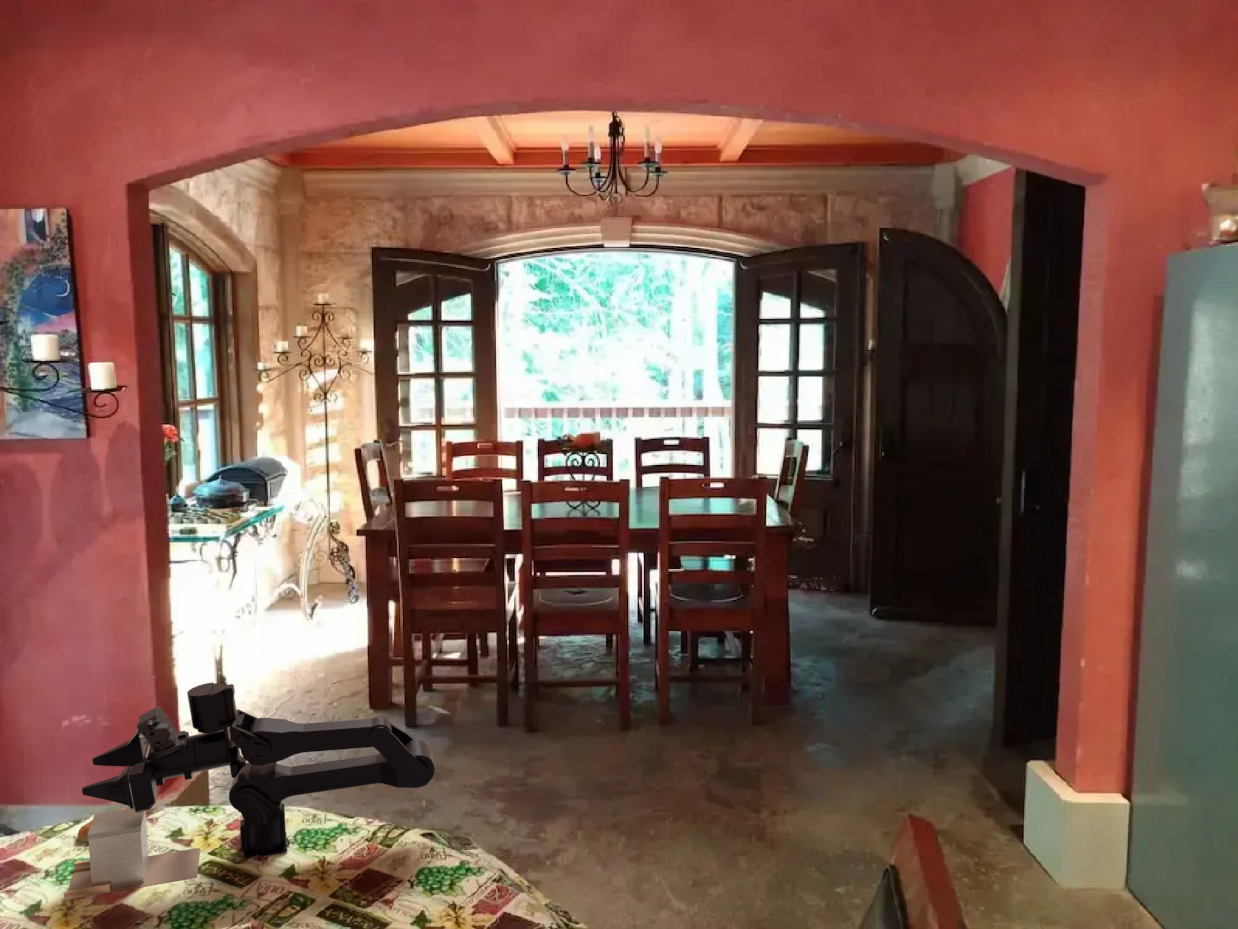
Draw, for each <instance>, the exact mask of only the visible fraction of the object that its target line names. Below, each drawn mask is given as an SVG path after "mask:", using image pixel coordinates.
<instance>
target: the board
mask: <svg viewBox="0 0 1238 929" xmlns="http://www.w3.org/2000/svg"><path fill="white" fill-rule="evenodd" d="M200 854H201V847H196V848H195V847H194V848H189V849H184V850H178V851H173V852H172V851H170V852H165V853H159V854H158V853H157V854H152V855H148V857H149V860H148V865H147V870H146V875H145V880H144V883H138V884H132V885H126V886H120V887H114V888H110V884H107V885H101V886H95V887H92V881H91V868H90V859H85V860H79V861H74V863H73V864H74V866H73V867H74V871H73V874H72V876H71V880H70V881H69V882H70V883H69V886H68V888H67V890H65V891H64V892H63V900H64V901H68V900H75V899H81V898H87V897H92V896H98V895H105V894H109V893H110V894H111V893H115V892H121V891H128V890H134V889H137V888H138V889H139V888H143V887H144V888H145V887H149V886H156V885H161V884H167V883H172V882H179V881H180V882H181V881H185V880H190V879H191V880H192V879H195V878H198V872H199V864H200Z"/></svg>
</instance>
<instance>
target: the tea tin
mask: <svg viewBox="0 0 1238 929" xmlns="http://www.w3.org/2000/svg"><path fill="white" fill-rule="evenodd" d="M126 808H127V809H123V808H119V809H120V810H117V809H114V810H107V811H100V812H95V813H94V814H93V815H94V816H93V819H92V820H93V821H92V820H91V821H92V823H91V826H90V829H89V832H88V840H89V842H88V852H89V860H90V868H91V881H92V887H95V886H101V885H107V884H110V888H114V887H120V886H126V885H132V884H138V883H144V880H145V875H146V870H147V865H148V860H149V857H148V856H149V846H148V831H147V830H148V828H147V815H146V812H147V810H146V811H142V812H137V813H136V812H135V808H134V809H130V808H128V807H126Z"/></svg>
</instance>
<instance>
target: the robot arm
mask: <svg viewBox="0 0 1238 929" xmlns="http://www.w3.org/2000/svg"><path fill="white" fill-rule="evenodd" d="M186 693H187V700H188V708H189V712H190V719H191V723H192V724H191V725H192V729H195V730H197V733H198V734H194V735H190V734H189V733H190V732H189V731H187V730H182V731H177V730H176V728H175V726H174V724H173V722H172V721H171V719H170V717H168V715H167V713H166V712H165V710H164V709H163V707H162V706H160V705H158V706H156V707H153V708H152V709H150V710H148V711H146V712H144V713H142V714H140V715H139V717H138V718H139V721H138V722H137V724H136V728H137V729H136V731H135V732H134V734H133V735H132V736H131V737H130V739H129V740H127V741H125V742H124V743H123V742H122V743H121V744H120V745H117V746H115V747H113V748H111V749H109V750H107V751H104V752H102V753H101V754H99V755H96V756H94V757H93V758H92V760H91V761H92V764H93V766H99V767H101V766H102V767H125V768H124V769H123V771H122V772H121V773H120V774H119V775H117V776H116V775H115V776H113V777H110V778H107V779H104V780H100V781H97V782H94V783H91V784H89V785H85V786H83V787H82V789H81V792H82V795H83V796H86V797H91V798H96V799H101V800H104V801H109V802H113V803H117V804H120V805H123V806H128V807H129V806H130V809H134V808H135V812H136V813H137V812H142V811H146V812H147V811H150V810H151V809H152V808H153V807H154V805H155V804H156V802H157V796H158V792H159V791H158V787H159V786H164V784H165V781H166V780H167V779H172V778H177V777H182V776H184V780H185V781H187V780H192V779H193V774H196V773H200V772H201V773H202V772H205V771H210V770H214V769H219V768H224V767H229V769H230V770H229V771H230V775H231V776H230V777H231V778H232V780H231V781H232V782H231V785H230V789H229V793H228V801H229V803H230V805H231V807H232V808H234V809H235V810H237V811H238V813H240V814H241V816H242V819H240V822H239V831H240V833H239V834H240V848H241V849H240V850H241V851H242V852H244V856H243V857H244V859H249V858H255V857H259V858H260V857H267V856H271V855H272V856H273V855H279V854H284V853H287V852H288V838H287V831H286V812H285V810H286V809H285V803H283V801H284V800H286V799H288V798H290V797H296V796H303V795H309V794H315V793H323V792H329V791H336V790H344V789H349V788H355V787H363V786H370V785H371V786H372V785H378V784H379V785H385V786H389V787H393V788H397V789H419V788H423V787H425V786H427V785H428V784H429V782H431V781H432V779H433V777H434V775H435V763H434V758H433V753H432V750H431V748H430V746H429V744H427V743H426V742H425V741H423V740H420V739H415V738H413V737H412V736H411V735H410V734H409V733H408V732H406V731H404V730H403V729H401V728H399V727H398V726H396V725H394V724H393V723H392V722H391V721H390V720H389V719H388V718H386V717H384V716H376V717H373V718H364V719H363V718H362V719H353V720H352V719H348V720H337V721H336V720H334V721H323V722H320V721H319V722H310V723H309V722H307V723H300V722H293V721H290V720H288V719H283V718H277V717H276V718H275V717H273V718H272V717H259V718H258V717H257V716H254V715H253V714H250V713H247V712H245V711H243V710H241V709H239V708H238V709H237V706H236V699H235V685H234V684H233V683H230V684H224V683H219V682H218V683H215V682H207V683H202V684H198V685H196V686H194V687H192V688H190V689H188V691H187V692H186ZM200 733H201V734H200ZM362 748H364V749H367V748H373V749H375V750H376V751H378V754H373V755H367V756H358V757H352V758H344V759H337V760H329V761H323V762H322V761H320V762H315V763H309V764H300V765H294V766H293V765H292V766H290V765H289V766H287V765H284V764H280V763H278V762H281V761H284V760H286V759H288V758H290V757H292V756H296V755H299V754H302V753H303V754H304V753H313V752H314V753H315V752H325V751H326V752H328V751H329V752H330V751H340V750H352V749H362Z"/></svg>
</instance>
